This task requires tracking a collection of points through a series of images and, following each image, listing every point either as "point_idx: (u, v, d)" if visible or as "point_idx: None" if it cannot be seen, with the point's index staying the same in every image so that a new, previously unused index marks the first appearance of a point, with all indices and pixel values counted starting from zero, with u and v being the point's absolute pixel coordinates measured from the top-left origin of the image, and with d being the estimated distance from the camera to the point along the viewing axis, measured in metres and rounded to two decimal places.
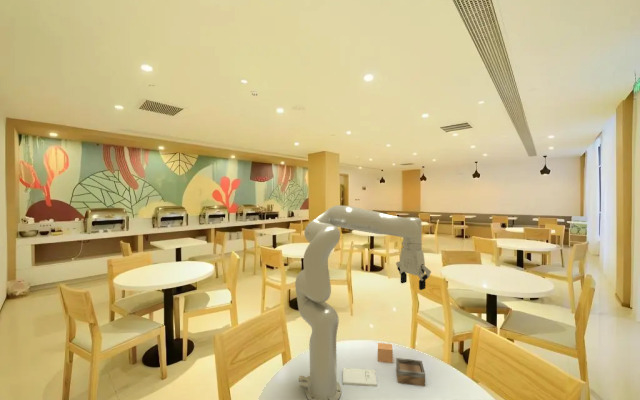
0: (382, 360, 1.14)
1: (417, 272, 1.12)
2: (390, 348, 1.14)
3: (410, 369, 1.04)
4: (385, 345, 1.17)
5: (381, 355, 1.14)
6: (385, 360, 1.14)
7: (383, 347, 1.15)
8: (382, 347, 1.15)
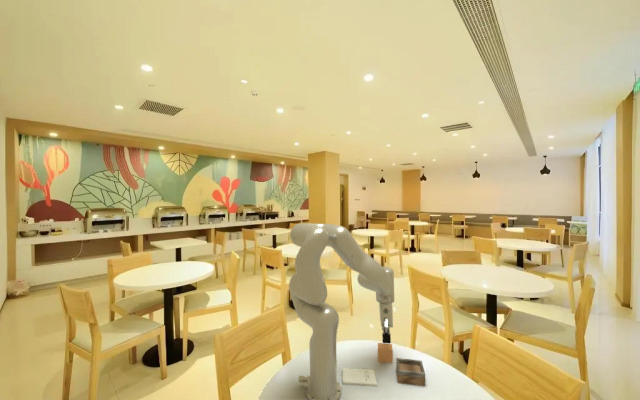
0: (382, 360, 1.14)
1: None
2: (390, 348, 1.14)
3: (410, 369, 1.04)
4: (385, 345, 1.17)
5: (381, 355, 1.14)
6: (385, 360, 1.14)
7: (383, 347, 1.15)
8: (382, 347, 1.15)
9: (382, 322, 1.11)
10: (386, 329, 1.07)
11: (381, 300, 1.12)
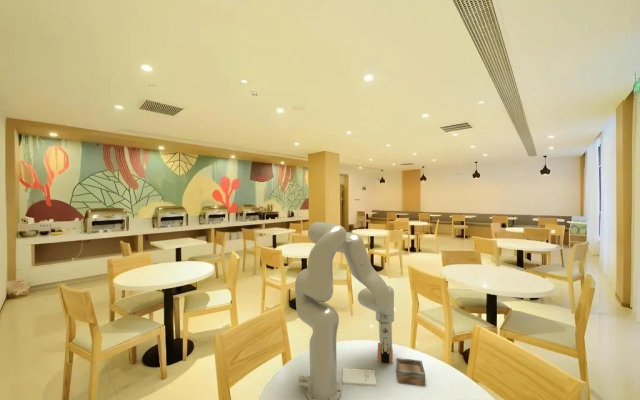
0: None
1: None
2: (390, 348, 1.14)
3: (410, 369, 1.04)
4: None
5: None
6: None
7: (383, 347, 1.15)
8: None
9: (381, 344, 1.11)
10: (385, 351, 1.09)
11: (381, 319, 1.12)
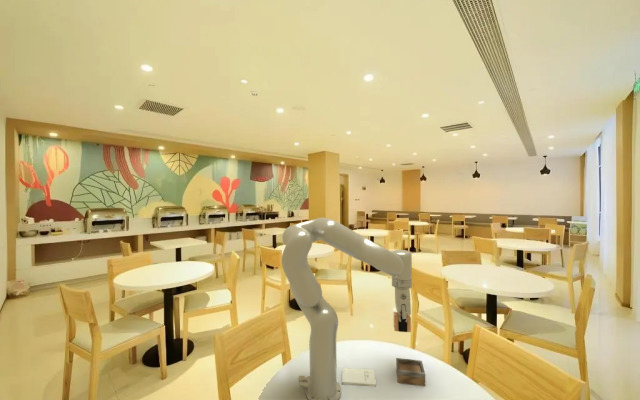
0: None
1: None
2: (408, 316, 1.06)
3: (410, 369, 1.04)
4: None
5: None
6: None
7: None
8: None
9: None
10: (404, 319, 1.01)
11: (398, 285, 1.04)
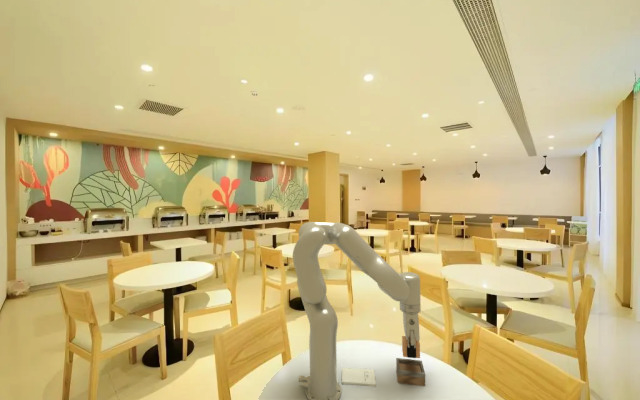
0: None
1: None
2: (417, 341, 1.02)
3: (410, 369, 1.04)
4: None
5: None
6: None
7: (409, 341, 1.03)
8: None
9: (407, 337, 1.00)
10: (412, 345, 0.97)
11: (406, 310, 1.00)
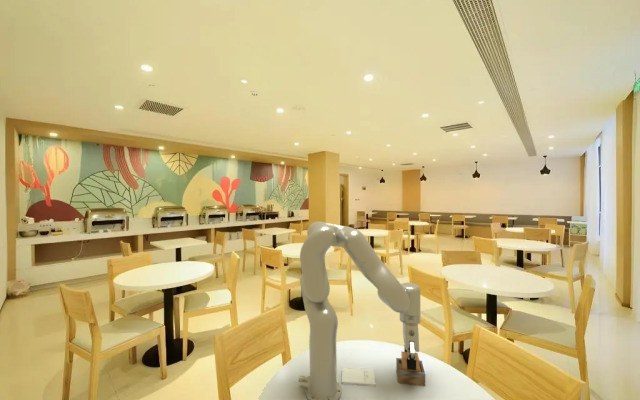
0: None
1: None
2: (416, 358, 1.02)
3: None
4: None
5: (406, 366, 1.02)
6: None
7: None
8: (407, 356, 1.03)
9: (407, 346, 0.99)
10: (412, 355, 0.96)
11: (406, 320, 1.01)
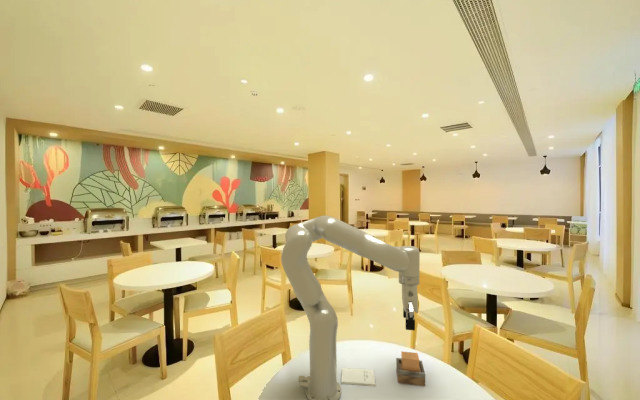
0: None
1: None
2: (416, 358, 1.02)
3: None
4: (410, 354, 1.05)
5: (406, 366, 1.02)
6: None
7: (408, 357, 1.03)
8: (407, 356, 1.03)
9: (406, 306, 0.99)
10: (411, 313, 0.96)
11: (405, 282, 1.01)
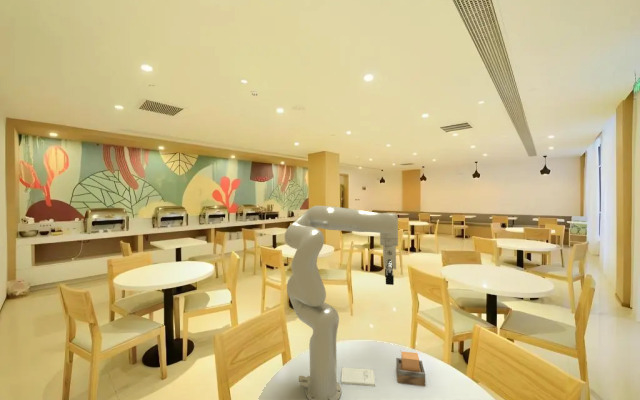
0: None
1: None
2: (416, 358, 1.02)
3: None
4: (410, 354, 1.05)
5: (406, 366, 1.02)
6: None
7: (408, 357, 1.03)
8: (407, 356, 1.03)
9: (386, 264, 1.14)
10: (390, 269, 1.10)
11: (385, 243, 1.15)
